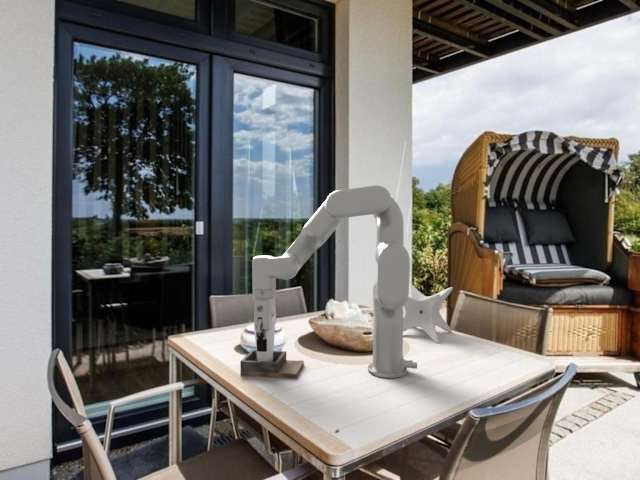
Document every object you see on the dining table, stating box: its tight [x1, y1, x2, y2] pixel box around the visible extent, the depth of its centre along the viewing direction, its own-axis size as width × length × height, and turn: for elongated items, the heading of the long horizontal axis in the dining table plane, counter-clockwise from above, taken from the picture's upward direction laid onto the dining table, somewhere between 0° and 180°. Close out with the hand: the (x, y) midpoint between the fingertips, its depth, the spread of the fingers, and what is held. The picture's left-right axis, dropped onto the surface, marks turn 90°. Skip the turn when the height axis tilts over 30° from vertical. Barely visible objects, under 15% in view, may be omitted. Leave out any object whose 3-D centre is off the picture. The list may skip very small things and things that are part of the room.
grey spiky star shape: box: [403, 282, 454, 344], centre depth 182 cm, size 20×20×20 cm
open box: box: [240, 349, 305, 380], centre depth 139 cm, size 18×12×4 cm, turn 81°
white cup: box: [253, 316, 276, 362], centre depth 139 cm, size 7×7×15 cm
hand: (264, 347), depth 139 cm, fingers closed on white cup, 6 cm apart
